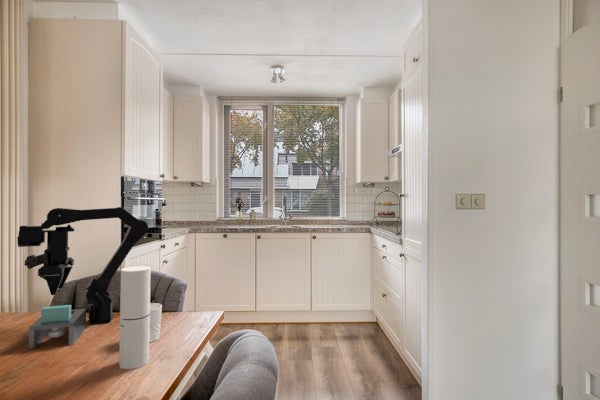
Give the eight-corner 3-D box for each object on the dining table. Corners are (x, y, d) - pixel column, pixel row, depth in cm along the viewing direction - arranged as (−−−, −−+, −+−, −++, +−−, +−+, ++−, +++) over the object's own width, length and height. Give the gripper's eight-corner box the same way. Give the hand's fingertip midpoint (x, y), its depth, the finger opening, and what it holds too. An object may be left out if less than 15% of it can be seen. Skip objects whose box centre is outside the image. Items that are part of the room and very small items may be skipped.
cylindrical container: (137, 370, 86) (138, 272, 86) (112, 367, 87) (114, 270, 87) (154, 358, 93) (156, 266, 93) (131, 355, 94) (133, 265, 94)
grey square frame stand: (46, 331, 110) (47, 311, 110) (85, 328, 114) (86, 308, 114) (28, 349, 97) (29, 326, 97) (73, 344, 101) (73, 322, 101)
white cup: (128, 340, 104) (128, 308, 104) (150, 332, 111) (150, 301, 111) (145, 346, 100) (146, 312, 100) (167, 336, 107) (167, 305, 107)
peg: (71, 331, 106) (72, 304, 106) (67, 336, 102) (68, 307, 102) (44, 334, 103) (45, 306, 103) (39, 339, 99) (40, 310, 100)
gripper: (37, 243, 119) (36, 287, 119) (17, 250, 102) (16, 301, 102) (74, 241, 124) (73, 284, 123) (61, 248, 106) (60, 297, 106)
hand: (57, 291), depth 114 cm, fingers open, 9 cm apart
